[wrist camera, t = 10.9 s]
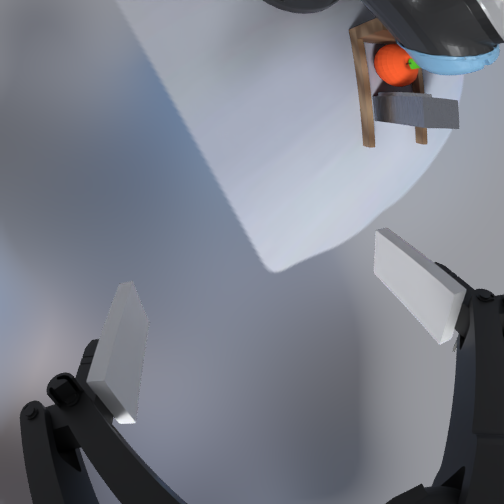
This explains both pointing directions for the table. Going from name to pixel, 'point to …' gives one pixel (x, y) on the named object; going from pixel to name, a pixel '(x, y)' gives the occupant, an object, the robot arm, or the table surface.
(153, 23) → the table surface
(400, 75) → the clementine
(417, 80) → the frame
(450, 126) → the block
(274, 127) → the table surface
